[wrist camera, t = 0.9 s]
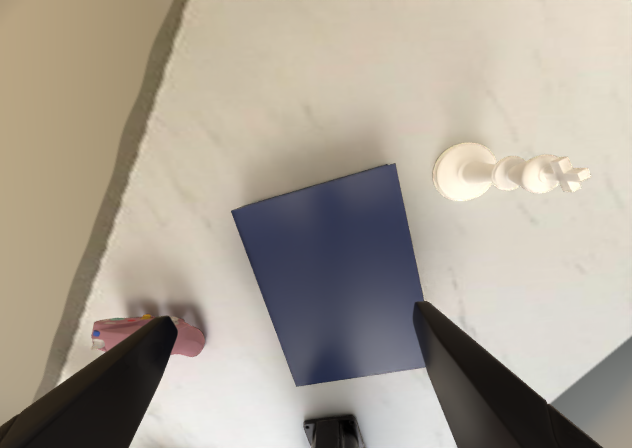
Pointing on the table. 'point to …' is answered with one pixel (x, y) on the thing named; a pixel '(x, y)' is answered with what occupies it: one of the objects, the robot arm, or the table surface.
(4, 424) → the robot arm
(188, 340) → the video game controller
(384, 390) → the table surface
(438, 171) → the chess piece
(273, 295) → the blue book
